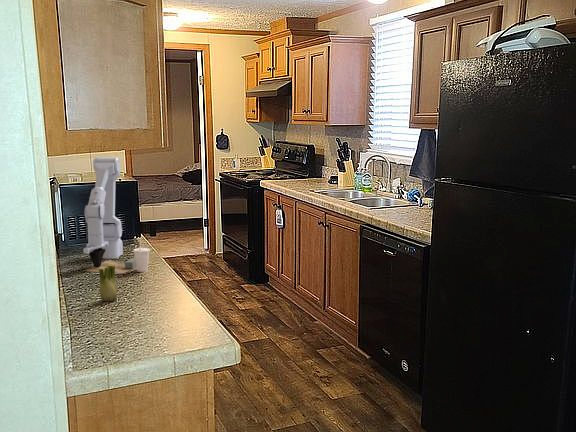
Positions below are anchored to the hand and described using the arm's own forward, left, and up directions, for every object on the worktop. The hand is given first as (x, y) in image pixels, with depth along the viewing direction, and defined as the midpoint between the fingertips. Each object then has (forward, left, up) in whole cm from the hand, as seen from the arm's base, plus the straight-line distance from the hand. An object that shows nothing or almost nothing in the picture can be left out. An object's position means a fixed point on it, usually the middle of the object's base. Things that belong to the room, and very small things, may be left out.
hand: (97, 267), depth 217 cm
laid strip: (-2, +11, -1) cm, 11 cm away
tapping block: (-5, +12, 0) cm, 14 cm away
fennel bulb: (+32, +24, -2) cm, 40 cm away
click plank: (-2, +2, -1) cm, 3 cm away
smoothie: (-1, +19, -2) cm, 20 cm away
